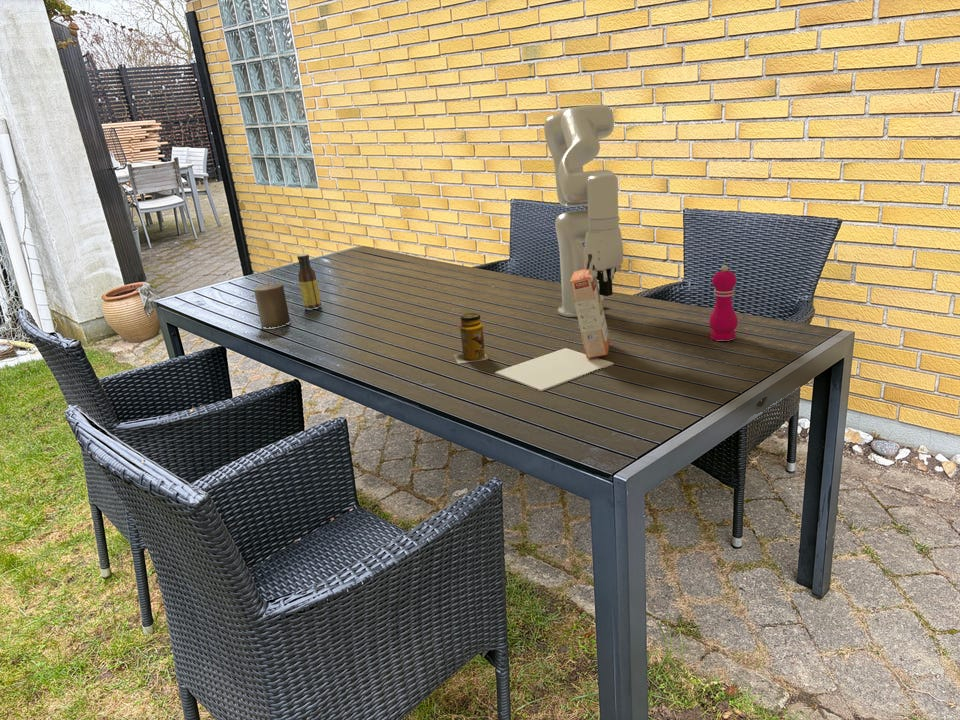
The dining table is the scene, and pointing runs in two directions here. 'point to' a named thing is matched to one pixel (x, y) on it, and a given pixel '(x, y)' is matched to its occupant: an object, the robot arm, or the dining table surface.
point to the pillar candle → (272, 305)
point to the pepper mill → (723, 306)
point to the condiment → (471, 339)
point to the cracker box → (590, 313)
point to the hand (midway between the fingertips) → (605, 294)
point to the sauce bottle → (308, 283)
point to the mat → (553, 369)
